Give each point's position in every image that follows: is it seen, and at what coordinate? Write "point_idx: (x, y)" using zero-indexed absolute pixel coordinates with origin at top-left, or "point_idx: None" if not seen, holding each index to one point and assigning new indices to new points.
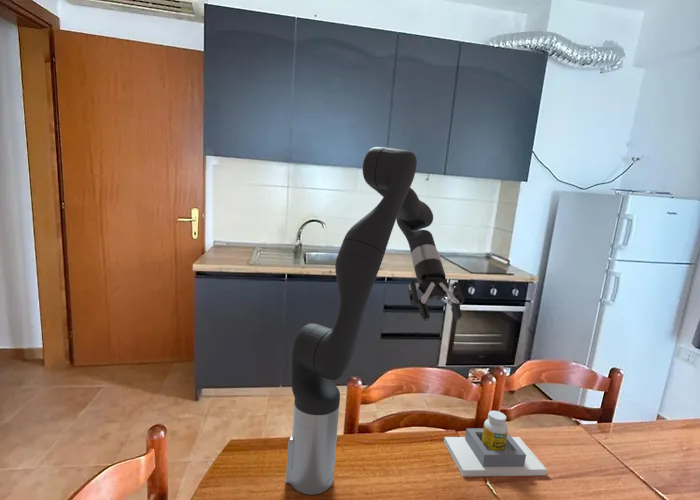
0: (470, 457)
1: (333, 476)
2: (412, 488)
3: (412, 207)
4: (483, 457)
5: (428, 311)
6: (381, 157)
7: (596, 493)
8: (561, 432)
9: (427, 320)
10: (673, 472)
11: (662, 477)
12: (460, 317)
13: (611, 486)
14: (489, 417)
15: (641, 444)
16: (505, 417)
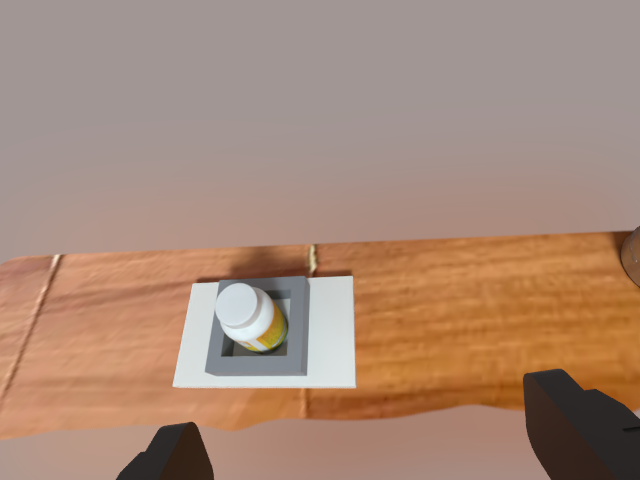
0: (322, 311)
1: (626, 254)
2: (457, 250)
3: None
4: (306, 281)
5: (567, 420)
6: None
7: (151, 252)
8: (49, 428)
9: (526, 422)
10: None
11: (12, 289)
12: (169, 426)
13: (113, 267)
14: (259, 302)
15: None
16: (221, 293)
